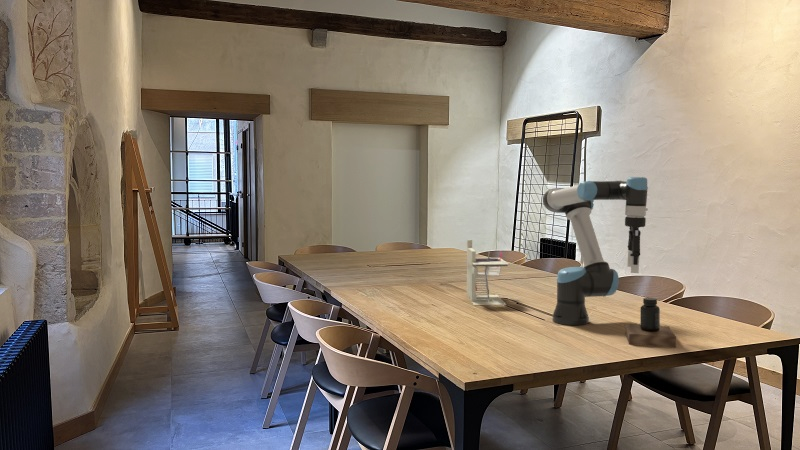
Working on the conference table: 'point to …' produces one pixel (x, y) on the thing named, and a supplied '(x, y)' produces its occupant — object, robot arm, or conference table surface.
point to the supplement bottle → (650, 315)
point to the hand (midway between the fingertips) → (632, 269)
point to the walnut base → (650, 336)
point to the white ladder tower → (473, 272)
